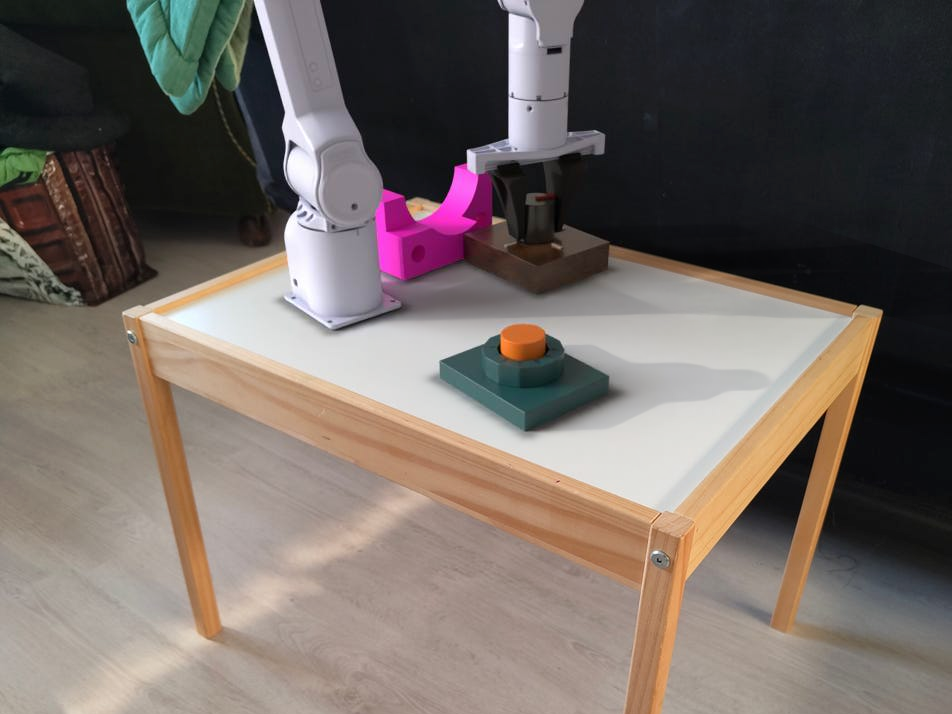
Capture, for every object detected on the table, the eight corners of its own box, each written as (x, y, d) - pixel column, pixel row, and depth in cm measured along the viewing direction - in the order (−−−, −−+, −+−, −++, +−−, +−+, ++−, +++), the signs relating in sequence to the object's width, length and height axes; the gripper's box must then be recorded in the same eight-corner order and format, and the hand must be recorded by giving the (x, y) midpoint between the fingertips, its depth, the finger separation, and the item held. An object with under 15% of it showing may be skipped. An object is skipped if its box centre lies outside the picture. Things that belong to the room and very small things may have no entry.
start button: (491, 351, 73) (491, 332, 72) (525, 338, 75) (525, 319, 74) (520, 367, 70) (520, 347, 69) (554, 354, 72) (555, 334, 71)
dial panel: (463, 260, 97) (462, 231, 95) (533, 238, 102) (533, 210, 100) (536, 295, 89) (537, 264, 87) (608, 269, 94) (610, 240, 92)
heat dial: (526, 246, 92) (527, 204, 89) (509, 234, 95) (510, 193, 92) (561, 240, 93) (562, 199, 90) (543, 228, 96) (544, 187, 93)
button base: (439, 378, 76) (437, 341, 74) (520, 346, 80) (521, 310, 78) (524, 432, 69) (525, 392, 66) (608, 394, 73) (611, 355, 71)
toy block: (404, 280, 92) (399, 208, 88) (367, 264, 96) (360, 194, 92) (507, 242, 100) (507, 174, 96) (470, 228, 104) (468, 162, 100)
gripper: (581, 78, 91) (575, 210, 99) (452, 94, 86) (456, 232, 94) (620, 91, 86) (610, 229, 94) (484, 110, 81) (486, 254, 89)
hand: (535, 232), depth 93 cm, fingers closed on heat dial, 4 cm apart
